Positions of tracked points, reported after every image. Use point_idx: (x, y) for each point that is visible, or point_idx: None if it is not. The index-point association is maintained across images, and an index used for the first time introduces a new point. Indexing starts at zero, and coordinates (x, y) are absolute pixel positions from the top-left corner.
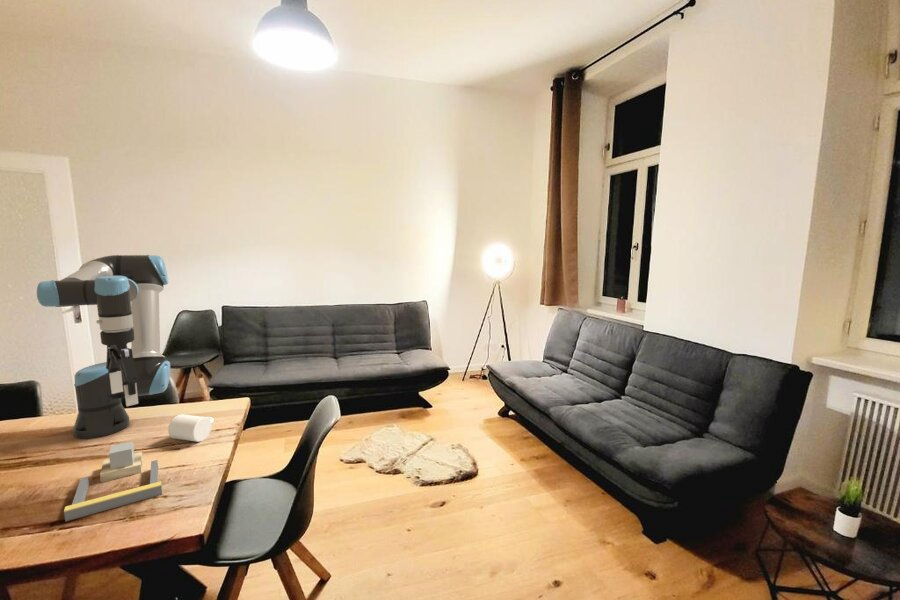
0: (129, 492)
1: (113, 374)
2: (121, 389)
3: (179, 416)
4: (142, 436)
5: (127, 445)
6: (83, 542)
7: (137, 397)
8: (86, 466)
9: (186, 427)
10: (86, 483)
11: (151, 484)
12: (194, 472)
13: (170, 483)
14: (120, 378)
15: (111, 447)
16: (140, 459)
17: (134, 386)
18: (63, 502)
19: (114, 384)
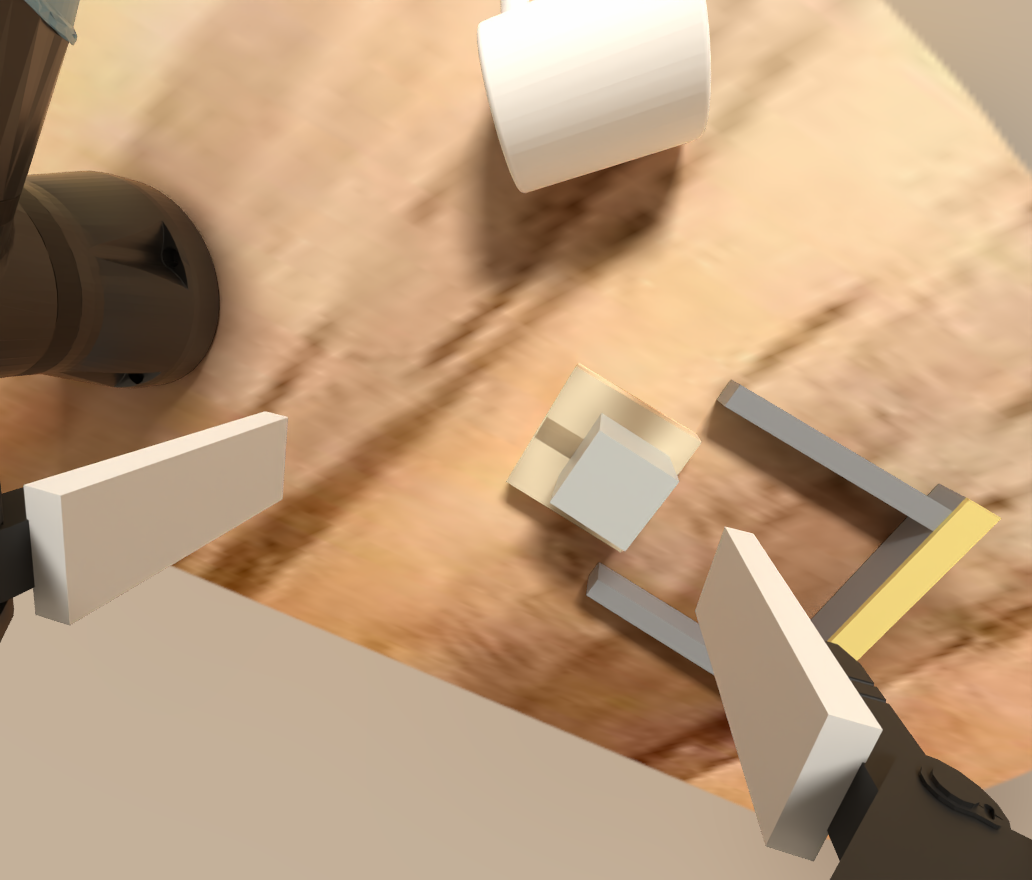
0: (908, 600)
1: (90, 574)
2: (270, 434)
3: (515, 83)
4: (353, 238)
5: (618, 467)
6: (953, 748)
7: (773, 570)
8: (441, 493)
9: (647, 128)
10: (637, 601)
11: (949, 532)
12: (956, 327)
13: (922, 435)
14: (166, 473)
15: (566, 511)
16: (650, 414)
17: (911, 751)
18: (638, 647)
19: (215, 512)
